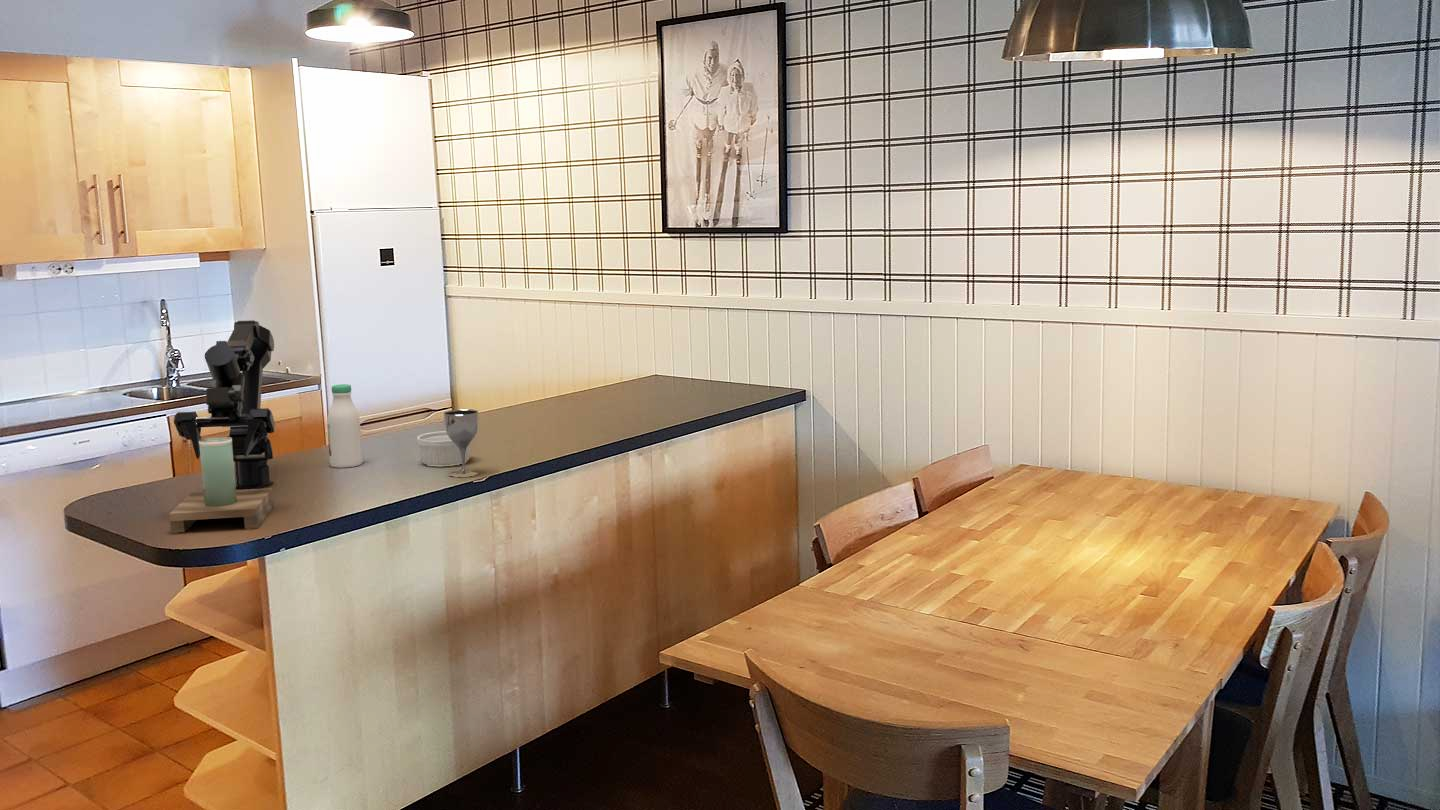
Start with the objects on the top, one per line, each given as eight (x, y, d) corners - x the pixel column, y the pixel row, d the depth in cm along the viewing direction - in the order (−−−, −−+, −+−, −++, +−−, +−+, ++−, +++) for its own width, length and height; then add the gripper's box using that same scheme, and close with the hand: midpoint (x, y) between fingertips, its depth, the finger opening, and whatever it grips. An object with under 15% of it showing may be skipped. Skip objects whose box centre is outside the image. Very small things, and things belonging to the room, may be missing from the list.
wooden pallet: (193, 511, 244) (191, 492, 244) (273, 506, 247) (272, 488, 247) (171, 533, 227) (169, 513, 226) (257, 528, 230) (256, 508, 229)
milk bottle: (369, 463, 290) (364, 383, 287) (347, 469, 283) (342, 388, 280) (345, 460, 293) (340, 382, 290) (323, 466, 286) (317, 386, 283)
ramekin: (458, 469, 282) (457, 441, 281) (408, 467, 285) (407, 439, 283) (481, 458, 294) (480, 431, 293) (433, 456, 297) (432, 430, 296)
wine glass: (473, 478, 271) (469, 415, 269) (441, 477, 273) (437, 414, 271) (486, 471, 279) (483, 409, 277) (455, 470, 281) (452, 409, 278)
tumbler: (200, 502, 235) (194, 439, 233) (230, 497, 239) (225, 435, 237) (210, 508, 230) (204, 443, 228) (241, 502, 234) (236, 439, 232)
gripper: (171, 373, 238) (162, 436, 229) (268, 370, 241) (262, 432, 232) (184, 405, 247) (176, 467, 238) (277, 401, 250) (272, 462, 241)
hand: (221, 456), depth 237 cm, fingers open, 9 cm apart
